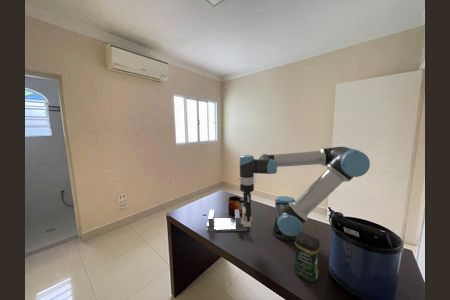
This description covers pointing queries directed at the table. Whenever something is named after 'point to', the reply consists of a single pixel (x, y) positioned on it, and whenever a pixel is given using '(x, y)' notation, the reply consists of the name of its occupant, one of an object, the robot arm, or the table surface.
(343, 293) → the table surface
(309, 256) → the coffee jar
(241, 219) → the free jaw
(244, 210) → the block
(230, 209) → the mug
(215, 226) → the vise bed
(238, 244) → the table surface
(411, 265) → the table surface
